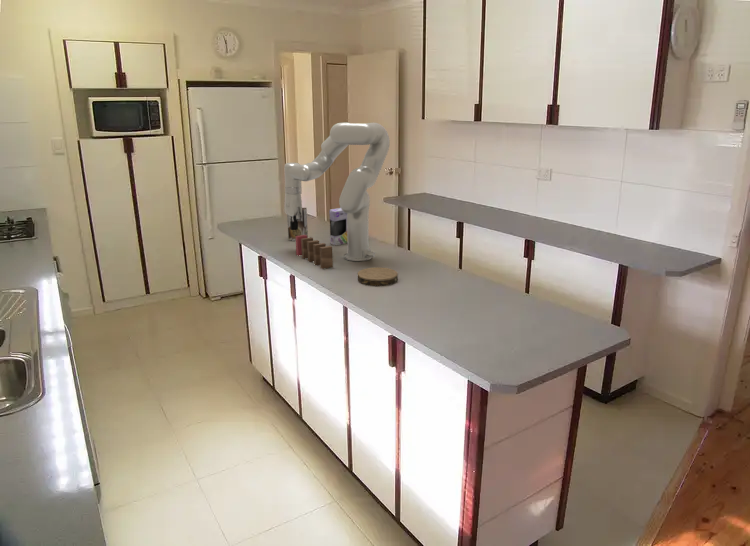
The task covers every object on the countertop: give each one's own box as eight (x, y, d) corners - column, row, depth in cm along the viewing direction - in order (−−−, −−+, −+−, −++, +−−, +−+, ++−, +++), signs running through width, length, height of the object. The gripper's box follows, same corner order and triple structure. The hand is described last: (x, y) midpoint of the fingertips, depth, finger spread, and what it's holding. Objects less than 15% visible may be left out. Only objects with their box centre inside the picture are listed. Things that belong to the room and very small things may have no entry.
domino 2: (307, 261, 241) (307, 241, 238) (317, 259, 244) (317, 240, 241) (309, 262, 239) (309, 242, 237) (319, 260, 242) (319, 240, 239)
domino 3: (314, 264, 236) (313, 244, 234) (324, 262, 239) (323, 242, 236) (316, 265, 235) (315, 245, 232) (326, 263, 237) (325, 243, 235)
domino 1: (302, 258, 246) (301, 238, 243) (311, 256, 248) (311, 237, 246) (303, 259, 244) (303, 239, 242) (313, 257, 247) (313, 238, 244)
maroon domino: (296, 255, 251) (295, 236, 248) (306, 253, 253) (305, 234, 250) (298, 256, 249) (297, 237, 246) (308, 254, 252) (307, 235, 249)
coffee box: (308, 238, 281) (307, 207, 276) (305, 241, 275) (304, 209, 270) (291, 237, 282) (289, 207, 277) (288, 240, 276) (286, 209, 271)
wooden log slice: (351, 284, 212) (351, 277, 211) (366, 272, 226) (366, 265, 225) (390, 288, 207) (390, 281, 206) (402, 276, 221) (402, 269, 220)
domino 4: (320, 267, 231) (319, 247, 229) (330, 265, 234) (330, 245, 231) (322, 269, 230) (321, 248, 227) (332, 267, 232) (332, 246, 230)
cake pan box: (334, 246, 265) (333, 210, 260) (327, 244, 269) (326, 209, 264) (364, 239, 278) (363, 205, 272) (357, 238, 281) (357, 204, 276)
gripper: (279, 188, 251) (280, 227, 257) (292, 193, 239) (293, 234, 245) (293, 187, 255) (294, 225, 261) (308, 192, 243) (308, 232, 249)
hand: (294, 229), depth 253 cm, fingers closed
